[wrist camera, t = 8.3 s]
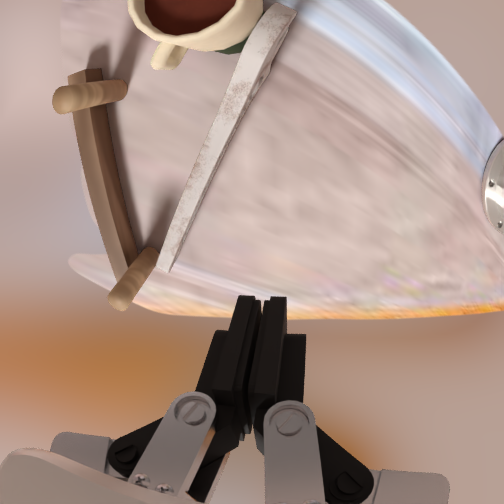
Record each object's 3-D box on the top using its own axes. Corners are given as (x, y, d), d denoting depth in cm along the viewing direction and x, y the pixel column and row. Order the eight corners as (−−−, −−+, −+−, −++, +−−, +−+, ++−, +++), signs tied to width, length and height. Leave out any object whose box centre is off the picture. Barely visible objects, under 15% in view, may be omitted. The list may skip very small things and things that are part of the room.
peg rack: (124, 61, 24) (68, 62, 17) (164, 275, 38) (135, 324, 30) (84, 74, 25) (27, 82, 18) (129, 274, 39) (96, 319, 31)
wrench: (171, 243, 39) (283, 11, 20) (183, 249, 39) (301, 20, 21) (144, 285, 32) (270, -4, 14) (158, 293, 33) (296, 7, 14)
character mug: (230, -32, 19) (184, -93, 8) (298, -2, 20) (297, -61, 9) (172, 57, 24) (92, 50, 13) (235, 88, 25) (188, 94, 14)
